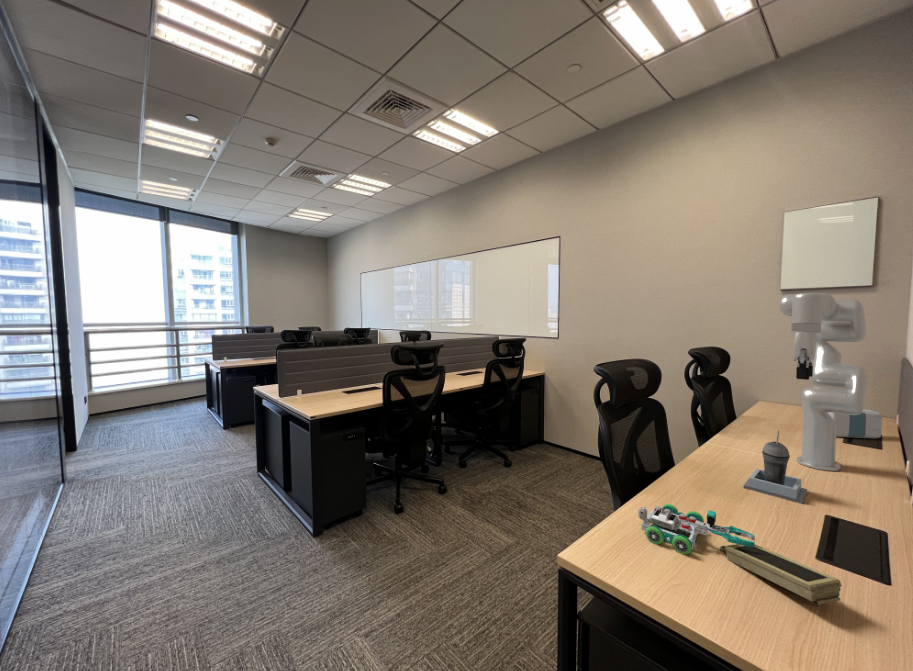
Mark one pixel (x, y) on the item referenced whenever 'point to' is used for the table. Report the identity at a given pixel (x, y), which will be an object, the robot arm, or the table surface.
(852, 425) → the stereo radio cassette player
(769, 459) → the beverage cup
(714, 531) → the robot kit
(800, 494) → the blue-grey tray
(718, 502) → the table surface
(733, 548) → the box
